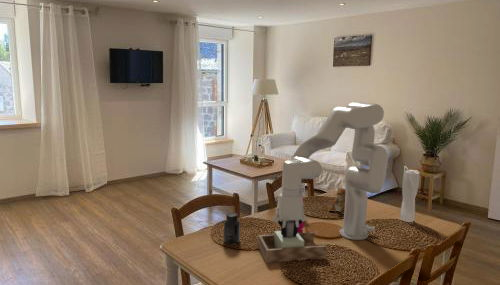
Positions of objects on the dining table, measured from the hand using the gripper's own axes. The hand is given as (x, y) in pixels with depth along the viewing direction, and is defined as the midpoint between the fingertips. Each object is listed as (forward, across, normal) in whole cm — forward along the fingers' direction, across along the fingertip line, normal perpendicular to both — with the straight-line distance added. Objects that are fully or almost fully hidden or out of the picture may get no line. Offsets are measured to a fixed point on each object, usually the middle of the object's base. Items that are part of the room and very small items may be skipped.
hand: (289, 235), depth 149 cm
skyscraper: (+7, -70, -25) cm, 75 cm away
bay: (+7, -1, 0) cm, 7 cm away
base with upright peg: (+6, 0, 0) cm, 6 cm away
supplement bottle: (+8, +21, -14) cm, 26 cm away
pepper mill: (+7, -9, -18) cm, 21 cm away
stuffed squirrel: (+7, -44, -44) cm, 62 cm away
